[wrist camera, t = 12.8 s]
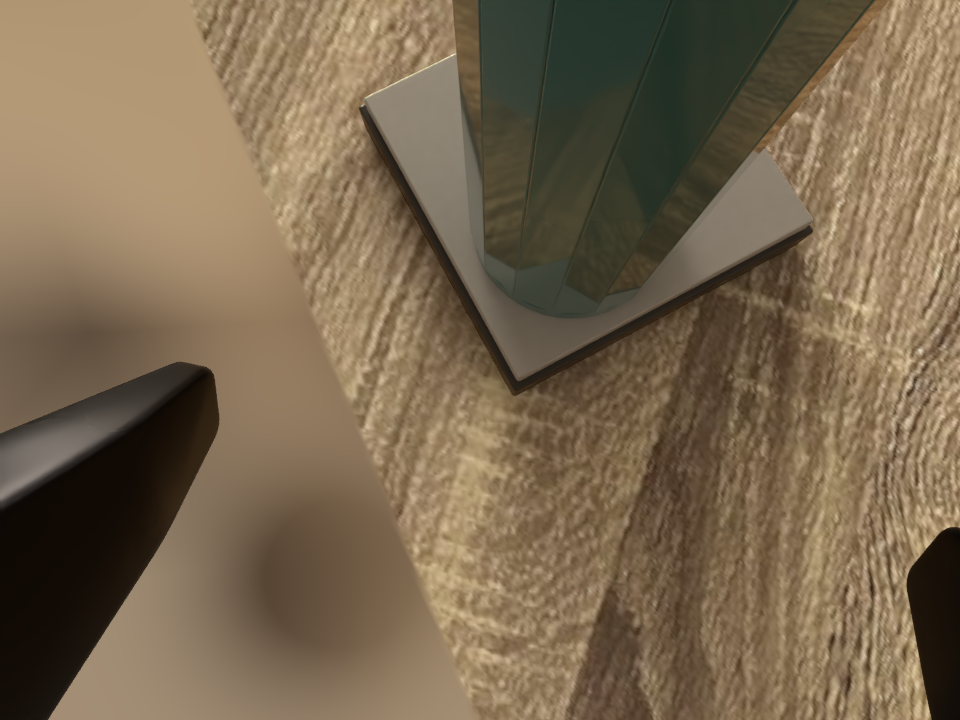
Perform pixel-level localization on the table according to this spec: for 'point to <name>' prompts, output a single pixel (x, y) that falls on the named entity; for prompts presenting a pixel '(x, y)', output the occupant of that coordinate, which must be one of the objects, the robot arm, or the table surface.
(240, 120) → the table surface
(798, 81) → the tumbler
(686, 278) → the scale
